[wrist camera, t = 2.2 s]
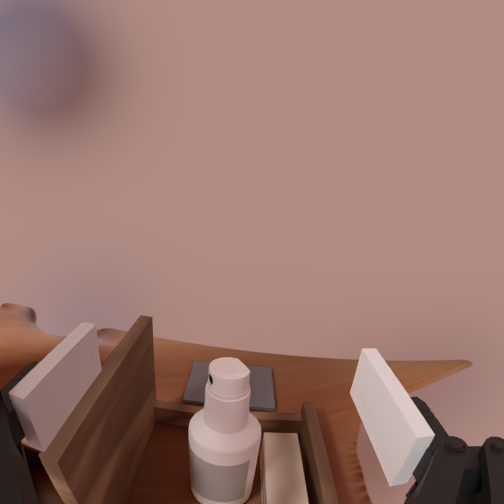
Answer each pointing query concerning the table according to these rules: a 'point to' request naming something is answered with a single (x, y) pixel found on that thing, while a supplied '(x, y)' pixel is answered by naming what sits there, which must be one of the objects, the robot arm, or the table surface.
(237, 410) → the spray bottle
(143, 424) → the rack
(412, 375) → the table surface
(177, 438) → the table surface
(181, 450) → the table surface
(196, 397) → the mat
